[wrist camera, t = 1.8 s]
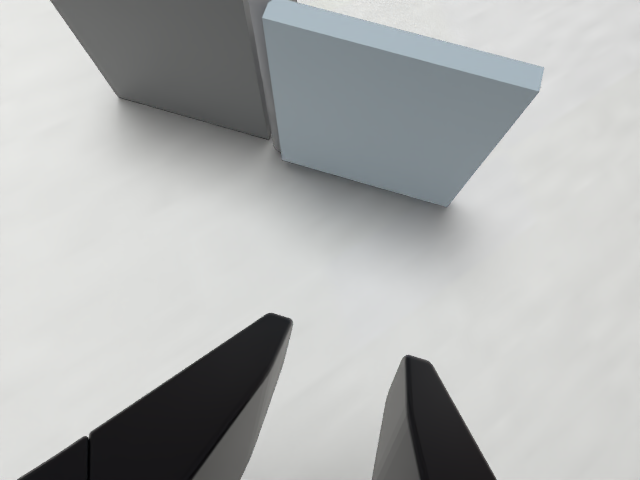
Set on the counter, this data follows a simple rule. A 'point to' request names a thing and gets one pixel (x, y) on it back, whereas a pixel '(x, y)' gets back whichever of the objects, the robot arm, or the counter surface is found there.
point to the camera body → (177, 56)
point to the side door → (383, 99)
